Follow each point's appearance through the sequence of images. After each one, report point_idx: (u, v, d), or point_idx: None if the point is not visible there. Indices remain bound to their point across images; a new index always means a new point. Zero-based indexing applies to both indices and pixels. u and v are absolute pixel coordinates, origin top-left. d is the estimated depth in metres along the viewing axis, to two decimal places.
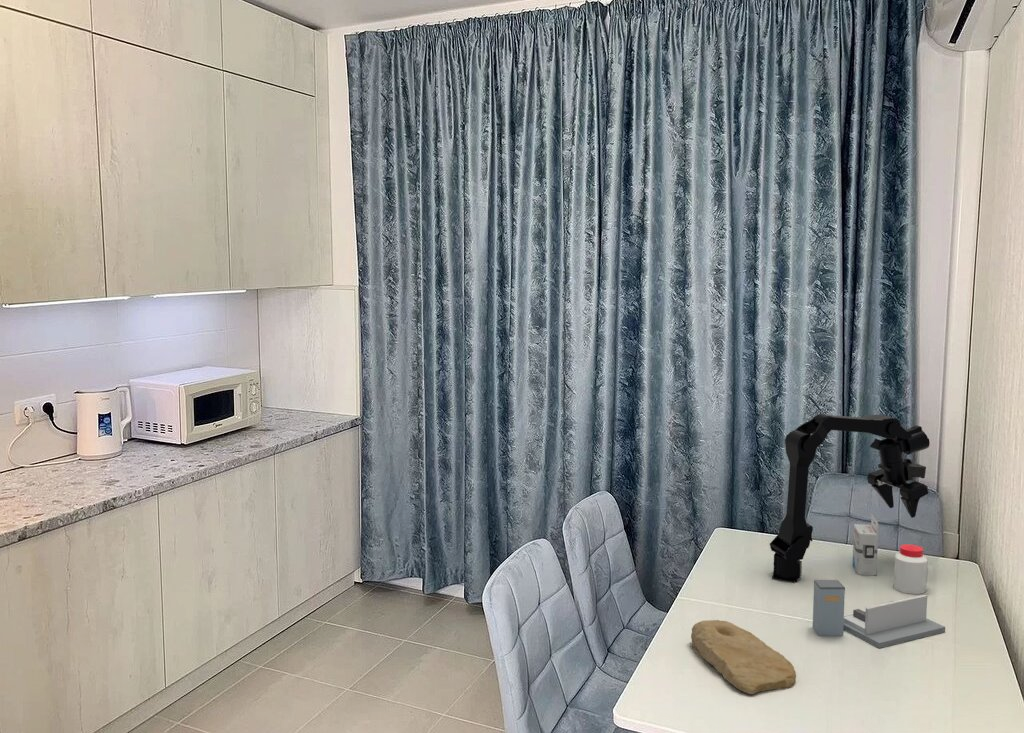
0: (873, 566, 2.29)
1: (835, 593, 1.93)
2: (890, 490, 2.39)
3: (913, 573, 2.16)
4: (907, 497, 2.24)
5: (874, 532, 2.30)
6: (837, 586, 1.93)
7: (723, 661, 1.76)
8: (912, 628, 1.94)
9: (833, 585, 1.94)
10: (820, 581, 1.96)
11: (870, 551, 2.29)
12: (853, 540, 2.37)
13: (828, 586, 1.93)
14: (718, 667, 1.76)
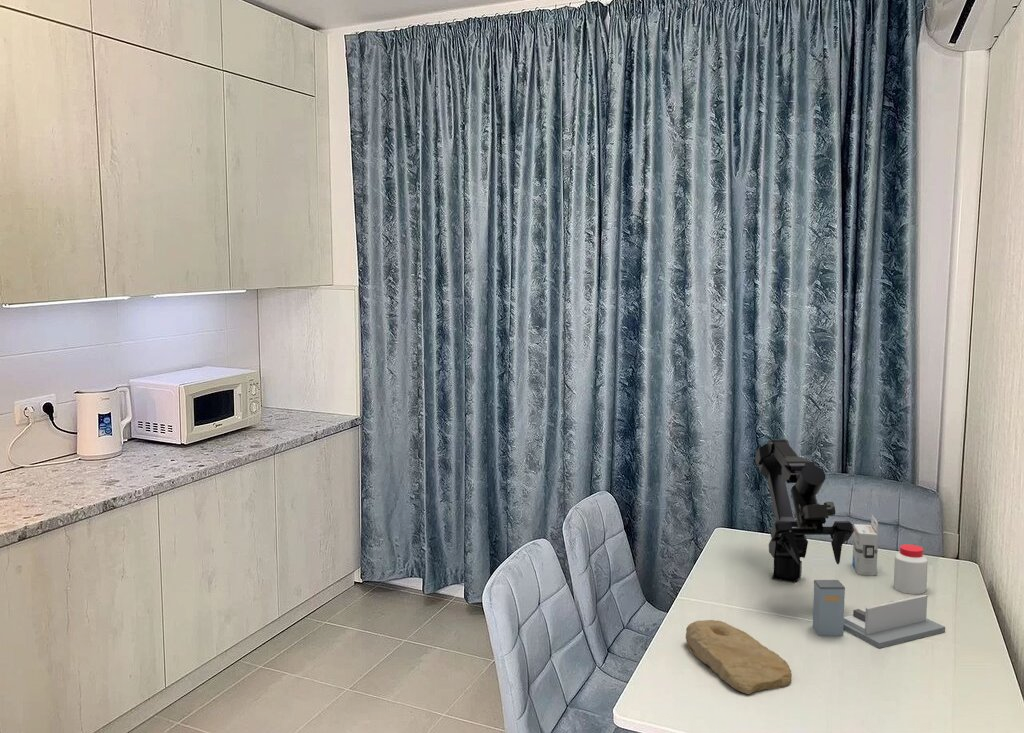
0: (873, 566, 2.29)
1: (835, 593, 1.93)
2: (836, 543, 2.04)
3: (913, 573, 2.16)
4: None
5: (874, 532, 2.30)
6: (837, 586, 1.93)
7: (719, 661, 1.76)
8: (912, 628, 1.94)
9: (833, 585, 1.94)
10: (820, 581, 1.96)
11: (870, 551, 2.29)
12: (853, 540, 2.37)
13: (828, 586, 1.93)
14: (714, 667, 1.77)
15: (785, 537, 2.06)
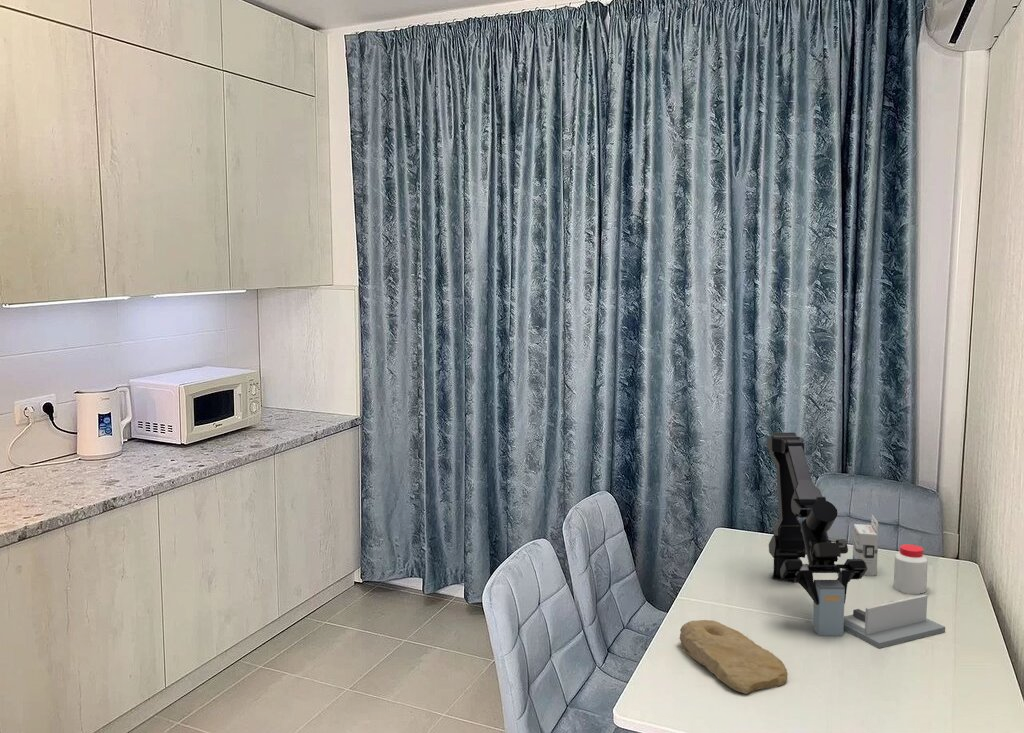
0: (874, 566, 2.29)
1: (835, 593, 1.93)
2: (841, 582, 1.96)
3: (913, 573, 2.16)
4: None
5: (874, 532, 2.30)
6: (837, 586, 1.93)
7: (716, 661, 1.76)
8: (912, 628, 1.94)
9: (833, 585, 1.94)
10: (820, 581, 1.96)
11: (870, 551, 2.29)
12: (853, 540, 2.37)
13: (828, 586, 1.93)
14: (710, 667, 1.76)
15: (803, 576, 1.97)
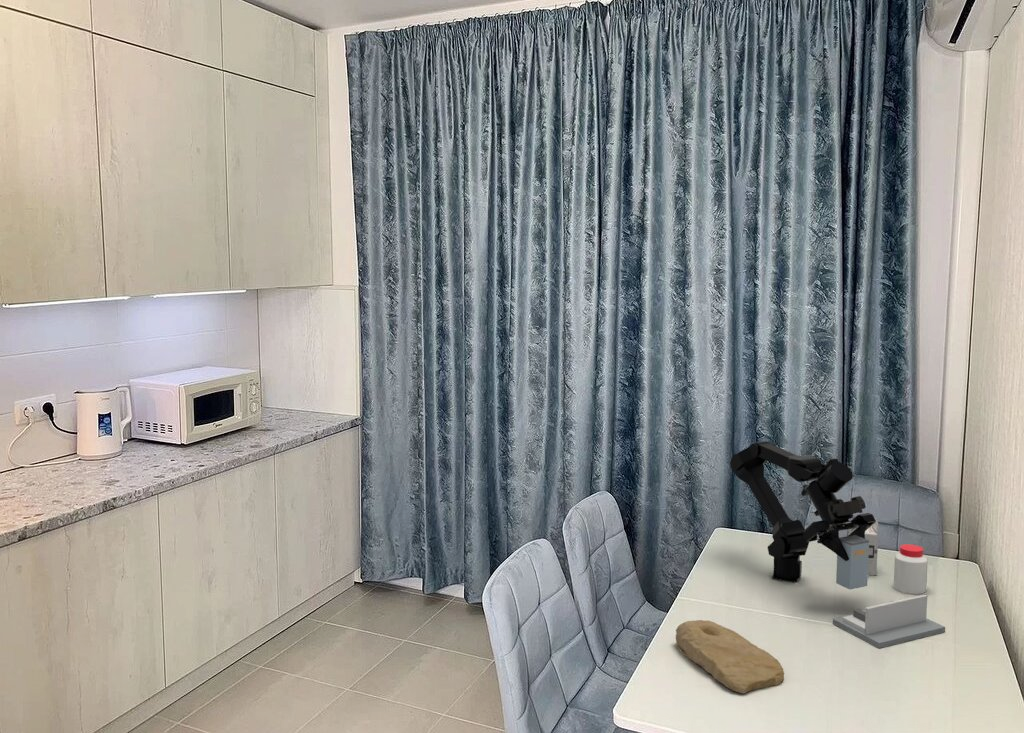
0: (873, 566, 2.29)
1: (862, 547, 2.04)
2: (859, 536, 2.08)
3: (913, 573, 2.16)
4: None
5: (874, 532, 2.30)
6: (862, 540, 2.05)
7: (713, 661, 1.76)
8: (912, 628, 1.94)
9: (858, 540, 2.05)
10: (844, 538, 2.06)
11: (870, 551, 2.29)
12: None
13: (856, 541, 2.04)
14: (707, 667, 1.76)
15: (828, 535, 2.06)
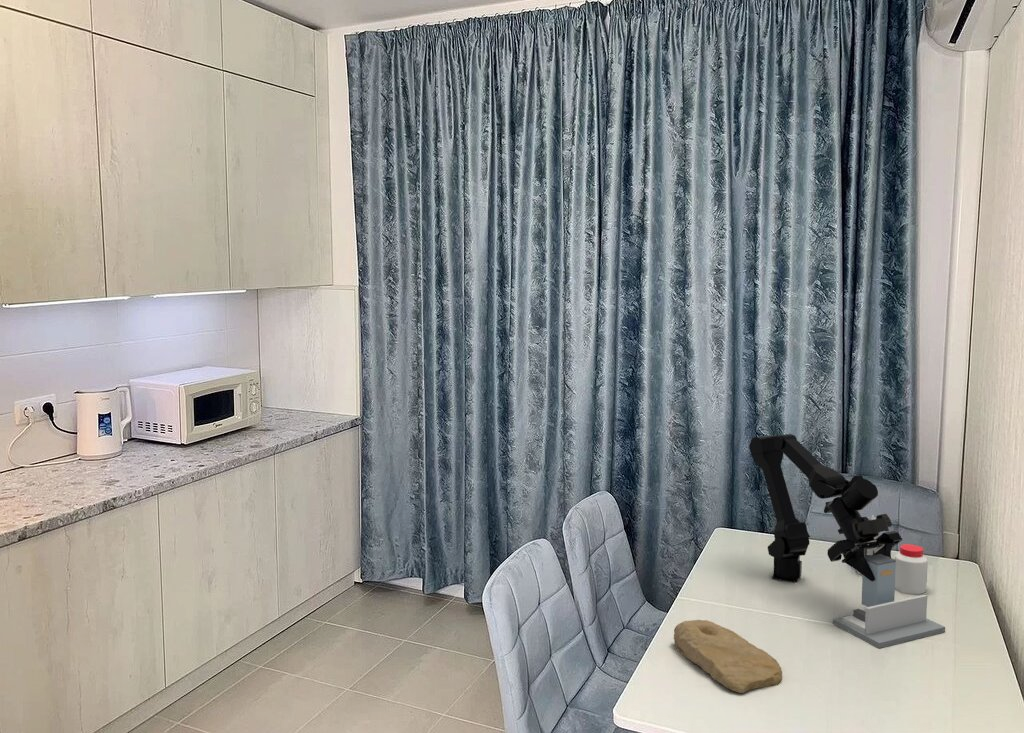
0: None
1: (889, 567, 1.97)
2: (885, 555, 2.01)
3: (913, 573, 2.16)
4: None
5: None
6: (889, 560, 1.97)
7: (711, 661, 1.76)
8: (912, 628, 1.94)
9: (884, 559, 1.98)
10: (870, 557, 1.99)
11: (870, 551, 2.29)
12: None
13: (882, 561, 1.97)
14: (705, 667, 1.76)
15: (854, 555, 1.99)
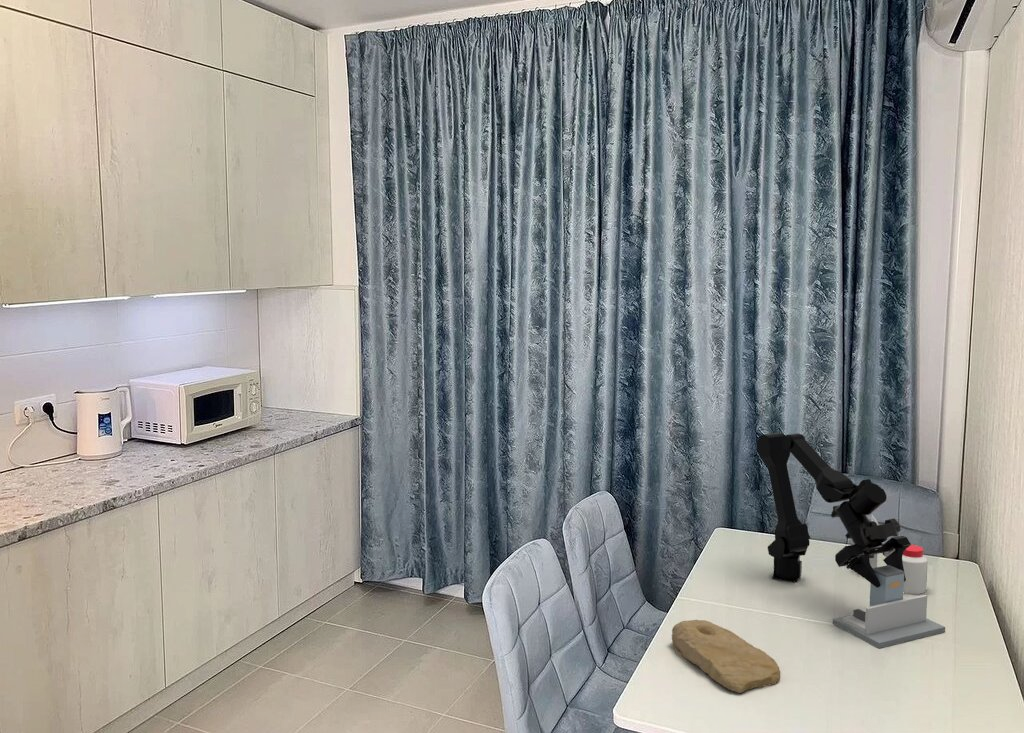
0: (874, 566, 2.29)
1: (897, 579, 1.95)
2: (896, 560, 1.99)
3: (913, 573, 2.16)
4: None
5: None
6: (897, 571, 1.95)
7: (709, 661, 1.76)
8: (912, 628, 1.94)
9: (893, 570, 1.96)
10: (878, 569, 1.97)
11: None
12: None
13: (891, 573, 1.95)
14: (704, 667, 1.77)
15: (859, 561, 1.96)
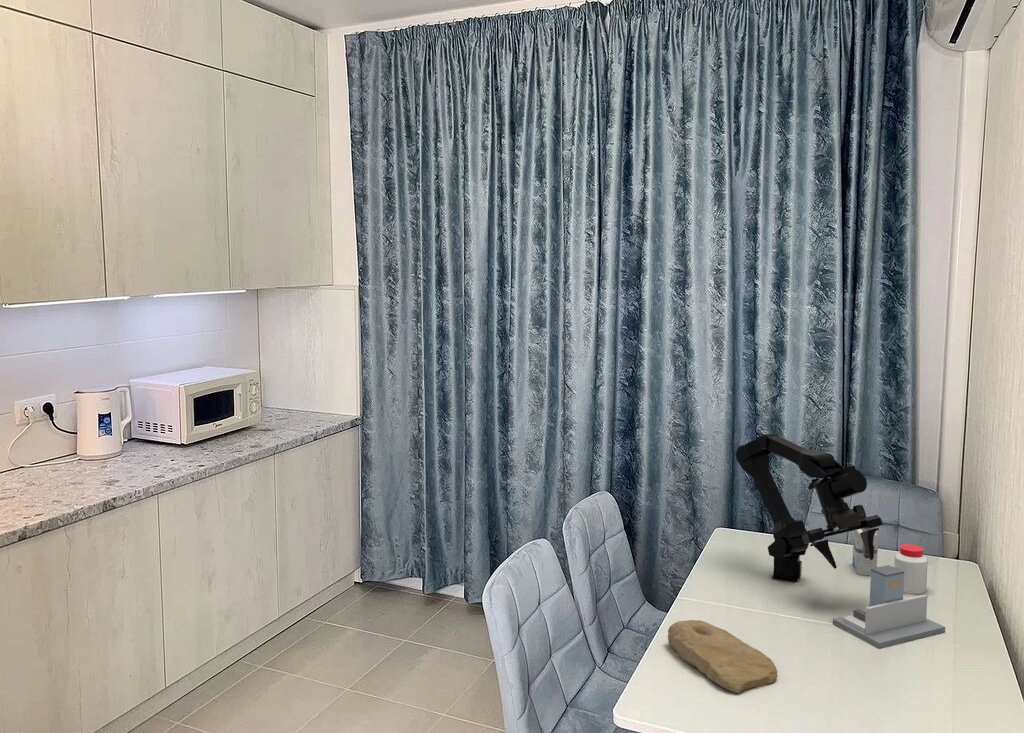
0: (873, 566, 2.29)
1: (897, 579, 1.95)
2: (867, 539, 2.09)
3: (913, 573, 2.16)
4: None
5: None
6: (897, 571, 1.95)
7: (706, 661, 1.76)
8: (912, 628, 1.94)
9: (892, 570, 1.96)
10: (878, 569, 1.97)
11: None
12: (853, 540, 2.37)
13: (891, 573, 1.95)
14: (701, 667, 1.77)
15: (818, 544, 2.09)
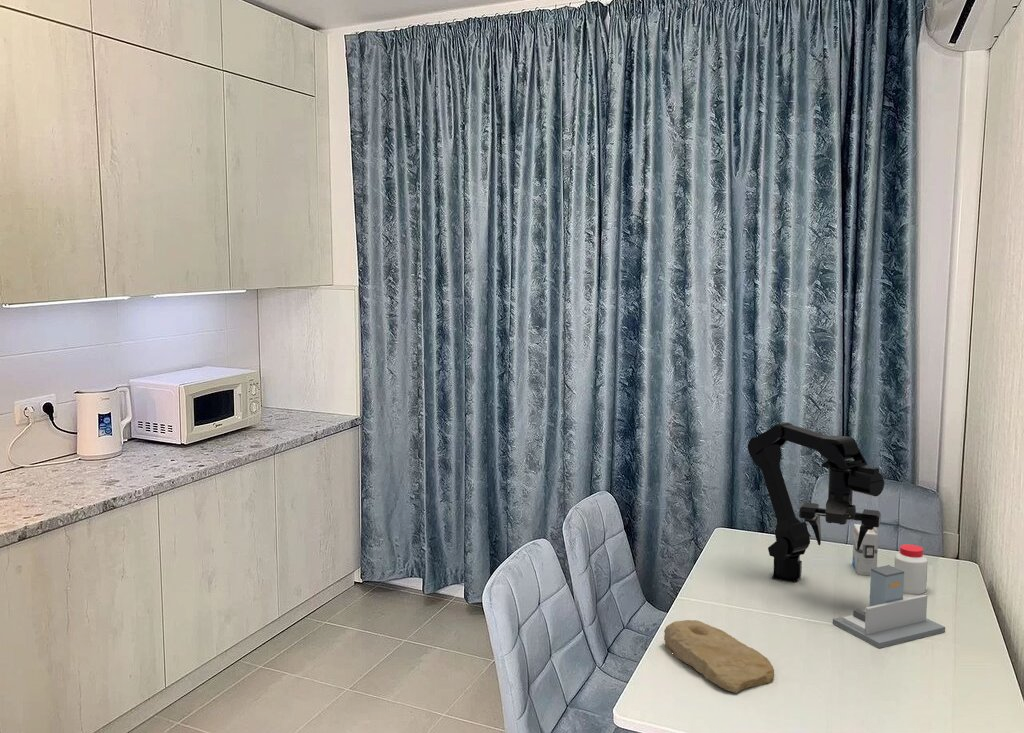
0: (873, 566, 2.29)
1: (897, 579, 1.95)
2: None
3: (913, 573, 2.16)
4: None
5: (874, 532, 2.30)
6: (897, 571, 1.95)
7: (704, 661, 1.76)
8: (912, 628, 1.94)
9: (892, 570, 1.96)
10: (878, 569, 1.97)
11: (870, 551, 2.29)
12: (853, 540, 2.37)
13: (891, 573, 1.95)
14: (698, 667, 1.76)
15: None
